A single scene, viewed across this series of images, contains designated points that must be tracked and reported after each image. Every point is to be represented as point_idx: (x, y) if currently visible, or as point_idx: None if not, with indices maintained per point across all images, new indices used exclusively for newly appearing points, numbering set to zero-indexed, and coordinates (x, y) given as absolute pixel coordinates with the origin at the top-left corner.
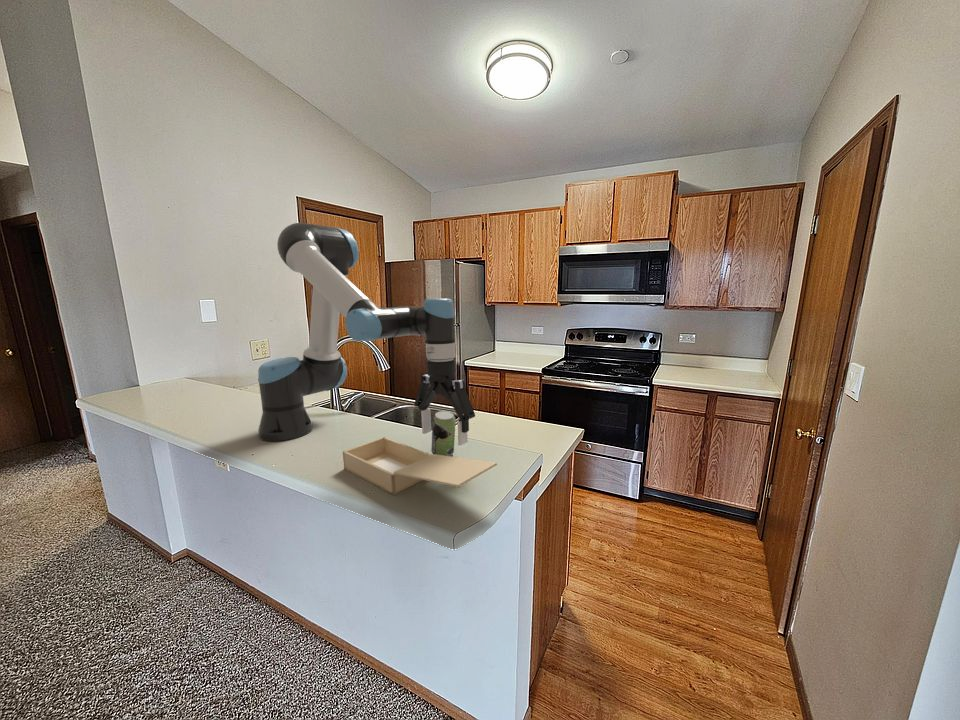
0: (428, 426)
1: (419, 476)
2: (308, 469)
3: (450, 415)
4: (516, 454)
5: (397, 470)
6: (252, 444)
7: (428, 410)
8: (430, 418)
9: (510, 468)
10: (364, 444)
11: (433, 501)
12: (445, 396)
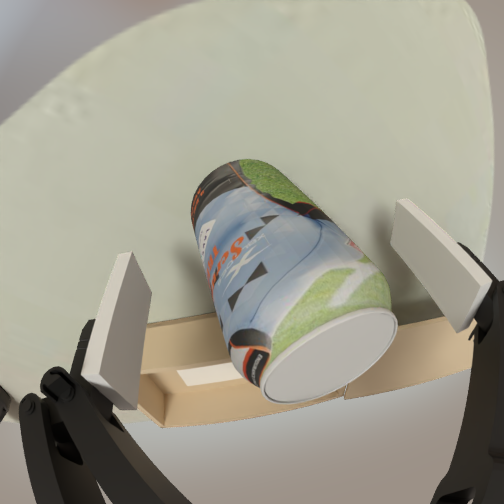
0: (134, 291)
1: (416, 383)
2: (133, 413)
3: (370, 332)
4: (439, 15)
5: (347, 396)
6: (18, 410)
7: (111, 377)
8: (116, 313)
9: (472, 115)
10: (138, 406)
11: (402, 322)
12: (435, 497)
